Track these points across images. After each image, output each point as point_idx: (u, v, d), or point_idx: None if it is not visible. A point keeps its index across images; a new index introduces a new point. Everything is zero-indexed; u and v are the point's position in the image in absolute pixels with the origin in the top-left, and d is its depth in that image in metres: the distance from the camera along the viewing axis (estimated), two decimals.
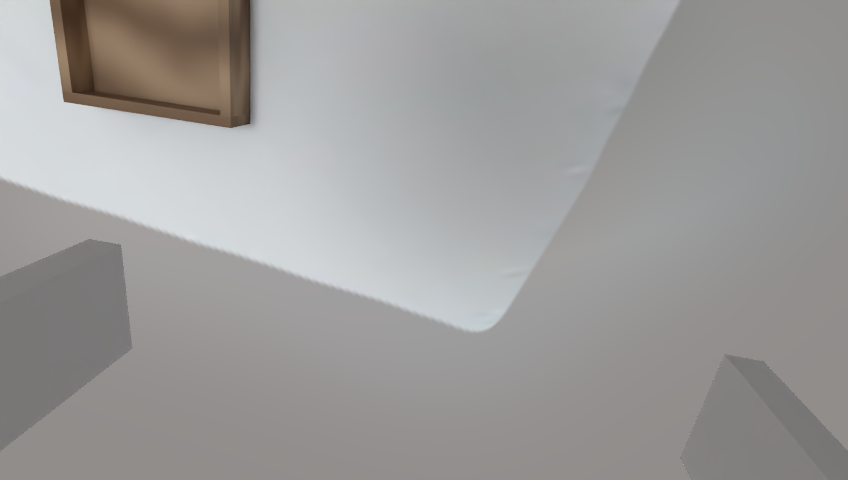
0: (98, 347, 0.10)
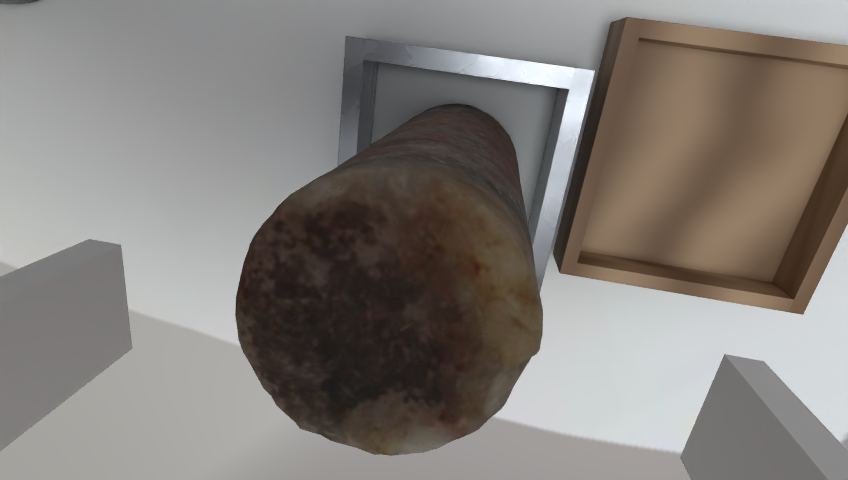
0: (98, 347, 0.10)
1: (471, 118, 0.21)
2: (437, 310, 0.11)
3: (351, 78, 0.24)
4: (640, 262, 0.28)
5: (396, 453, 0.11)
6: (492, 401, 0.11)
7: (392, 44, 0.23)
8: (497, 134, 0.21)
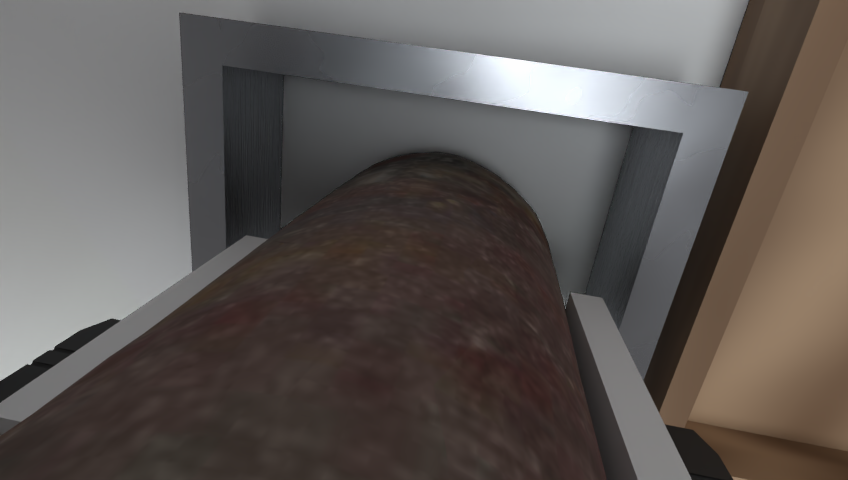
0: None
1: (453, 222, 0.08)
2: None
3: (201, 105, 0.11)
4: (779, 444, 0.15)
5: None
6: None
7: (281, 30, 0.10)
8: (522, 260, 0.08)
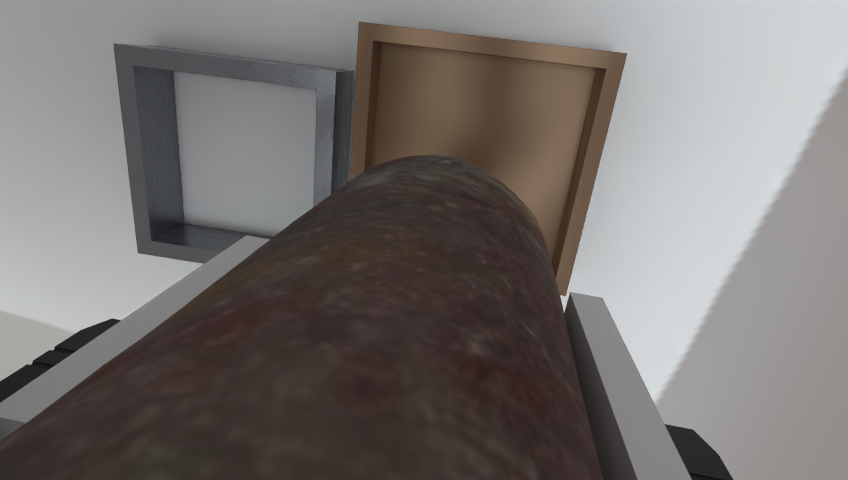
0: None
1: (451, 225, 0.08)
2: None
3: (125, 82, 0.26)
4: None
5: None
6: None
7: (155, 50, 0.25)
8: (520, 263, 0.08)
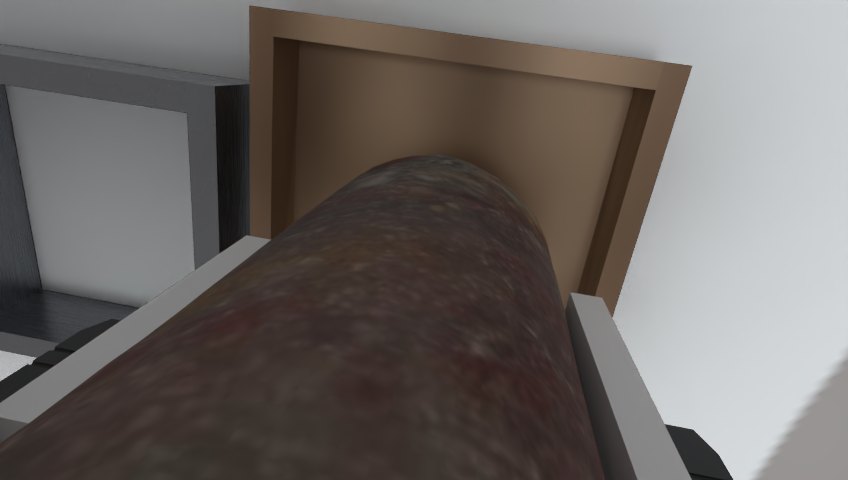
0: None
1: (453, 225, 0.08)
2: None
3: None
4: None
5: None
6: None
7: None
8: (521, 263, 0.08)
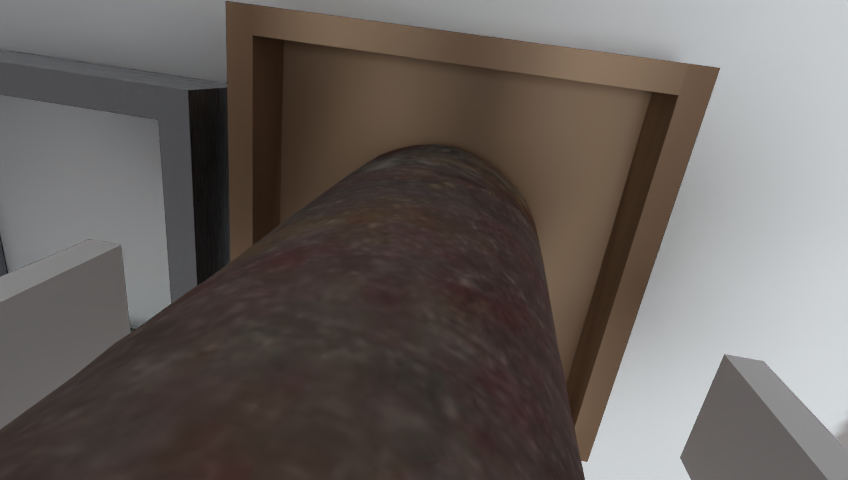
0: (98, 347, 0.10)
1: (449, 199, 0.09)
2: None
3: None
4: None
5: None
6: None
7: None
8: (506, 232, 0.10)
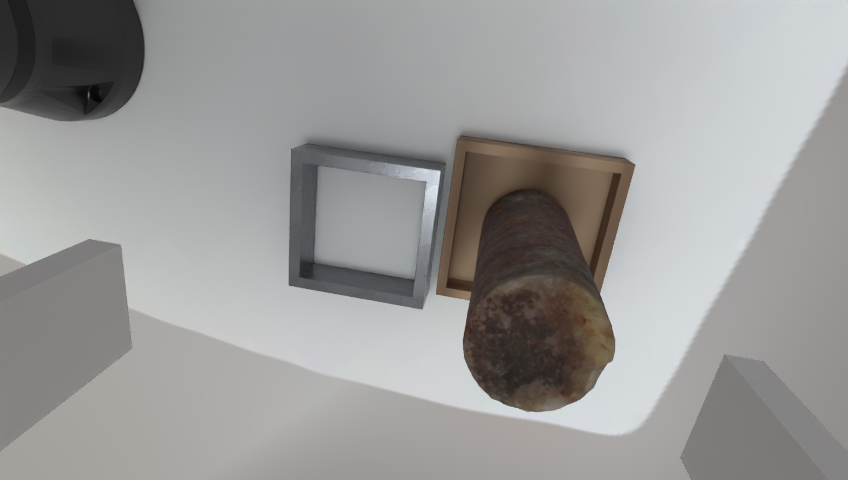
0: (98, 347, 0.10)
1: (548, 210, 0.33)
2: (562, 339, 0.22)
3: (295, 173, 0.39)
4: None
5: (539, 410, 0.23)
6: (589, 384, 0.22)
7: (319, 154, 0.38)
8: (564, 220, 0.33)
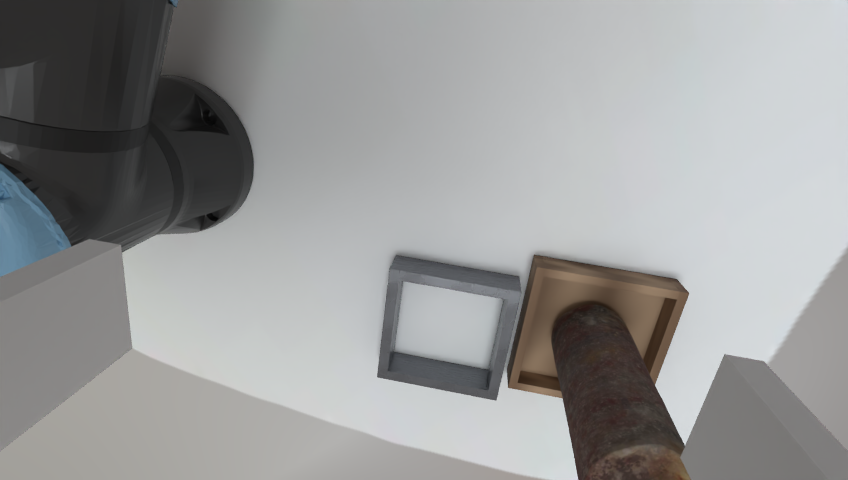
0: (98, 347, 0.10)
1: (621, 340, 0.39)
2: None
3: (391, 288, 0.45)
4: (556, 379, 0.49)
5: None
6: None
7: (414, 274, 0.44)
8: (634, 347, 0.39)
